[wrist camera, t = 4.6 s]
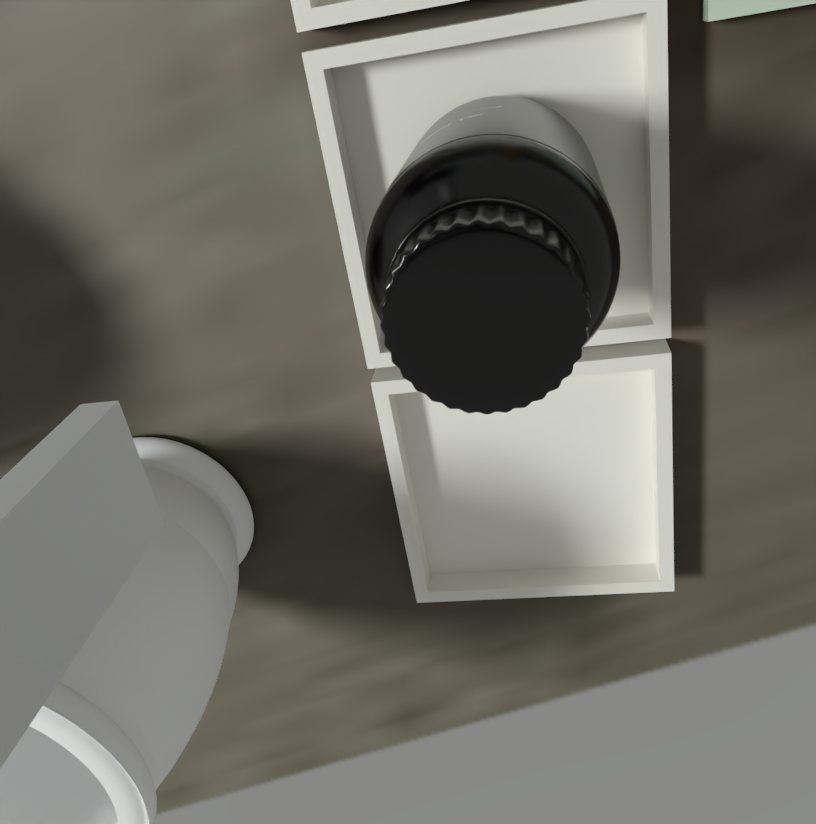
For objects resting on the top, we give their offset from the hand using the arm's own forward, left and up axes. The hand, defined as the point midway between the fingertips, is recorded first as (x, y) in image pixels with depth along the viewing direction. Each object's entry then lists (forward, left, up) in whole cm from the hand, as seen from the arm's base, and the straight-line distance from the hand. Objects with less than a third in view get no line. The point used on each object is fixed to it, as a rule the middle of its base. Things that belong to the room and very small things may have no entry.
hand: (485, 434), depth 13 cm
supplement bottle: (0, 0, -17) cm, 17 cm away
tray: (+12, 0, -17) cm, 21 cm away
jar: (+12, -17, -17) cm, 27 cm away
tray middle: (0, 0, -17) cm, 17 cm away
